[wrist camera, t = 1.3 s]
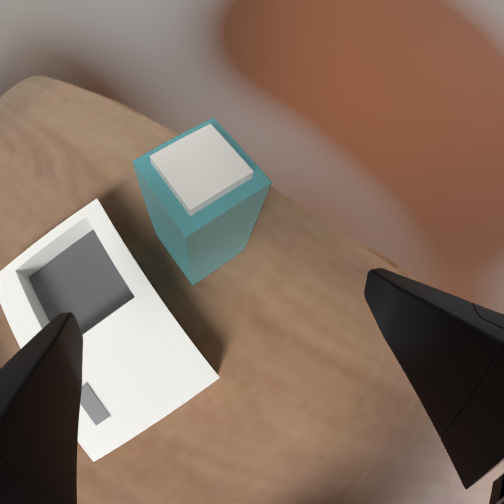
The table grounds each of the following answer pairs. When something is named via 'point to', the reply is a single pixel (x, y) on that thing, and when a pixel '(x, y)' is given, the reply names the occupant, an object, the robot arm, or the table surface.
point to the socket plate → (105, 328)
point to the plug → (202, 197)
